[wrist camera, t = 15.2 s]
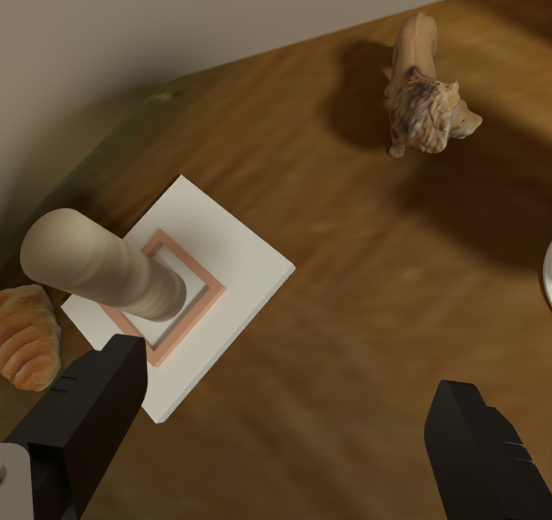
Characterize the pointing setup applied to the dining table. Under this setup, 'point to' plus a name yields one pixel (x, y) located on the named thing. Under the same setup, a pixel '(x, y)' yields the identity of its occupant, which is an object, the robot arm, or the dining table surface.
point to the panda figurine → (548, 273)
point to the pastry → (29, 338)
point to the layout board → (189, 292)
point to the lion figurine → (423, 94)
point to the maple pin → (99, 267)
